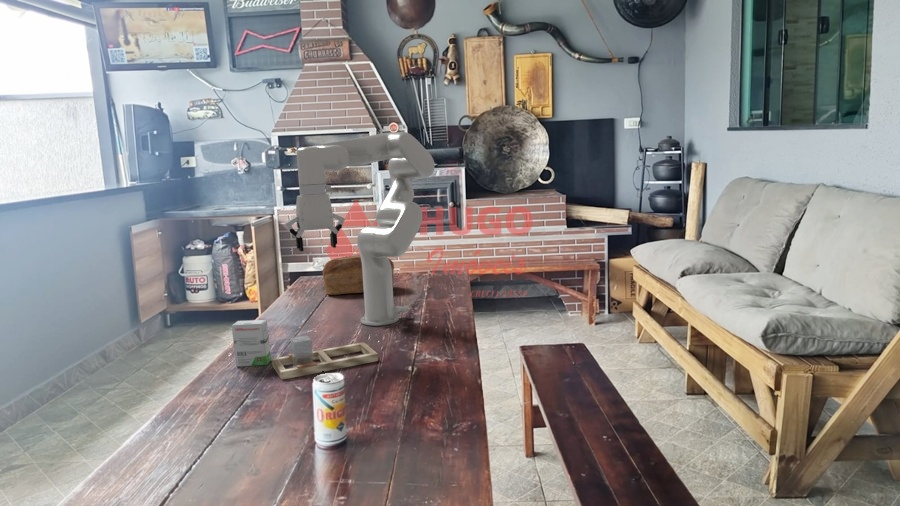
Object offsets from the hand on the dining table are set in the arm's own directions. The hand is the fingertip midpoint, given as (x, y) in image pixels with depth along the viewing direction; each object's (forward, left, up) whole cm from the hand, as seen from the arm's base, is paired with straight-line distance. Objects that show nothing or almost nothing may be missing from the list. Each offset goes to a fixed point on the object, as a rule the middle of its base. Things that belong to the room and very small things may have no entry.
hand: (317, 248), depth 189 cm
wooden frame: (+5, +19, -28) cm, 34 cm away
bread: (-30, -57, -29) cm, 70 cm away
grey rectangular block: (+11, +19, -28) cm, 36 cm away
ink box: (+22, +8, -28) cm, 37 cm away
